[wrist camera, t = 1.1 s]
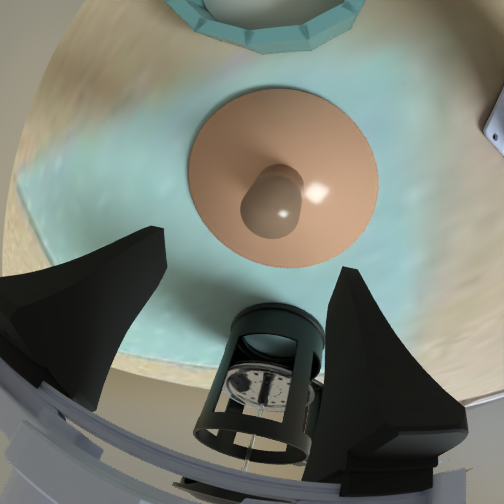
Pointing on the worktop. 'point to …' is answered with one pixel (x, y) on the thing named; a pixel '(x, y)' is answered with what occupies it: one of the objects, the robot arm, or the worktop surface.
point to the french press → (263, 396)
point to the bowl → (269, 21)
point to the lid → (283, 178)
